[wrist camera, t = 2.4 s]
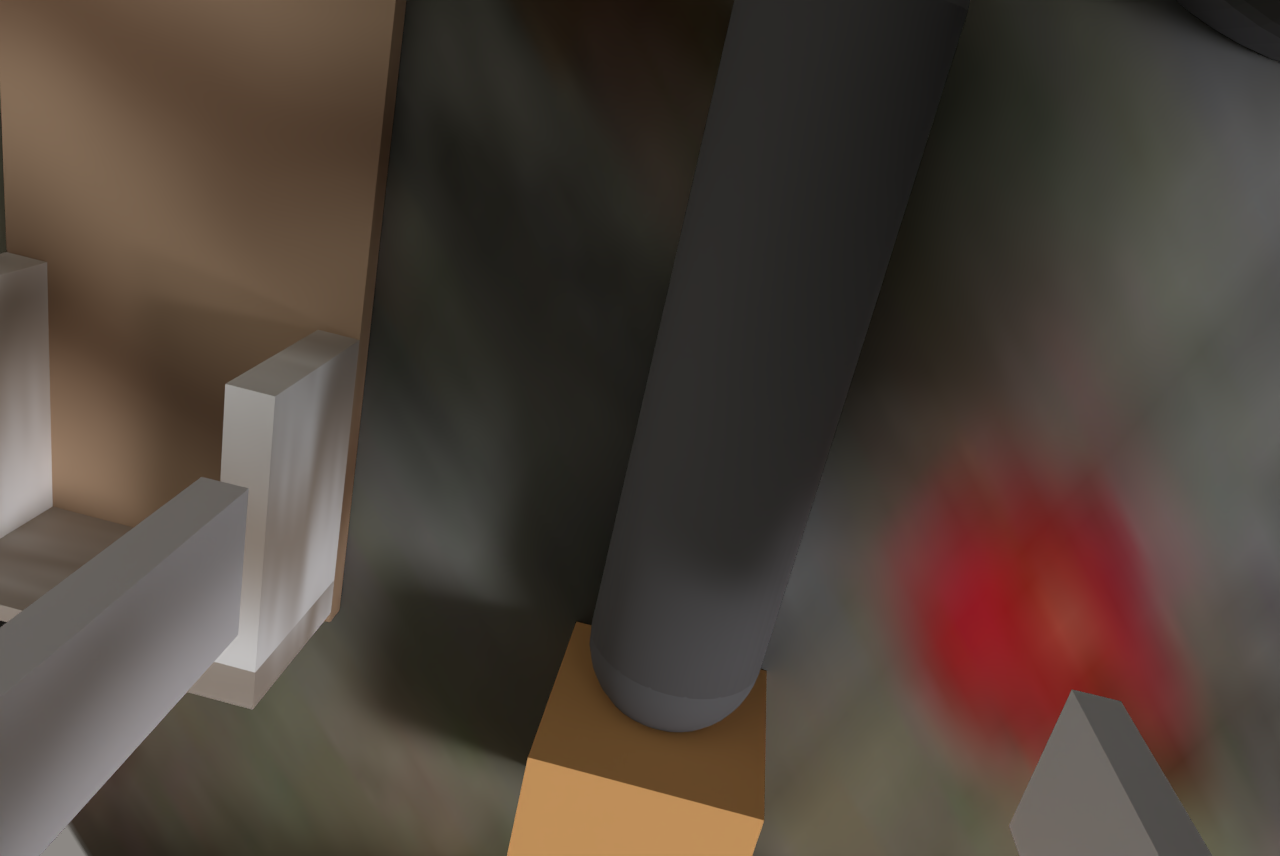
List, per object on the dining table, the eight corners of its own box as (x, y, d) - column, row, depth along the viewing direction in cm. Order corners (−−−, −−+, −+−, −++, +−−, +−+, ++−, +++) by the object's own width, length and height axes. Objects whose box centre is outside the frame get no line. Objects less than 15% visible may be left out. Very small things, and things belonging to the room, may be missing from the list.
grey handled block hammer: (746, -149, 18) (736, -224, 13) (1008, -91, 18) (1094, -147, 13) (542, 771, 27) (491, 929, 22) (719, 818, 26) (707, 988, 21)
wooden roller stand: (-8, -809, 16) (-421, -1266, 11) (484, -713, 16) (325, -1134, 10) (34, 529, 26) (-169, 658, 20) (339, 609, 25) (217, 763, 20)
